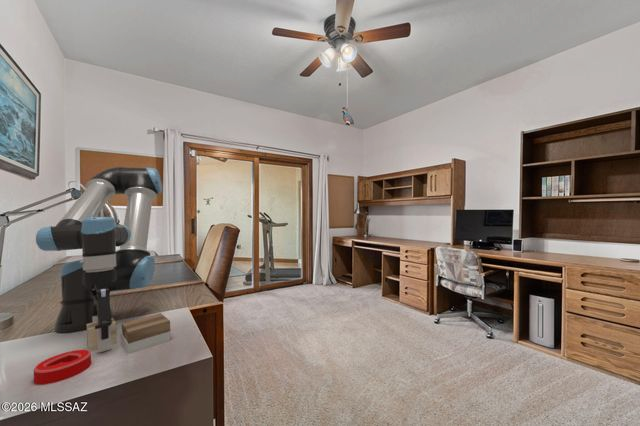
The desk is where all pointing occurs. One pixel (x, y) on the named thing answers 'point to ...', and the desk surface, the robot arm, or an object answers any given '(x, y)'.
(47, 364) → the decorative ornament
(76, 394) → the desk surface
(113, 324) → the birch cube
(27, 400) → the desk surface
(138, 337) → the slab top
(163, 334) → the slab bottom
